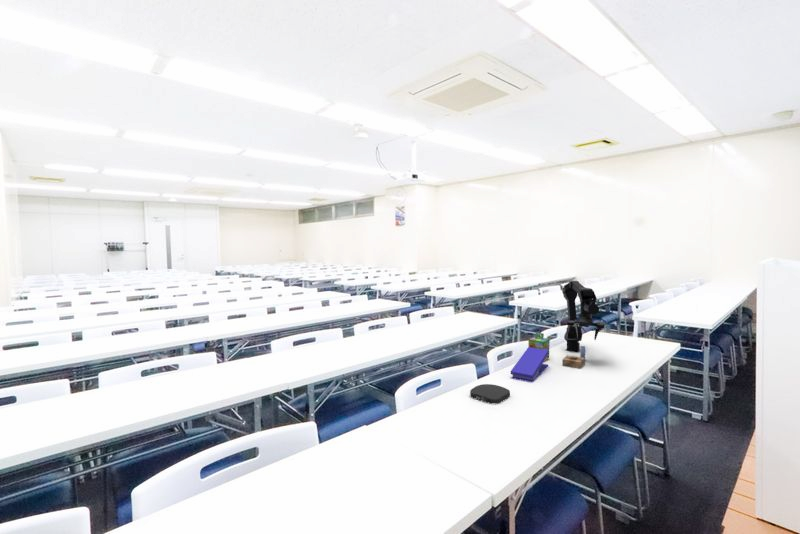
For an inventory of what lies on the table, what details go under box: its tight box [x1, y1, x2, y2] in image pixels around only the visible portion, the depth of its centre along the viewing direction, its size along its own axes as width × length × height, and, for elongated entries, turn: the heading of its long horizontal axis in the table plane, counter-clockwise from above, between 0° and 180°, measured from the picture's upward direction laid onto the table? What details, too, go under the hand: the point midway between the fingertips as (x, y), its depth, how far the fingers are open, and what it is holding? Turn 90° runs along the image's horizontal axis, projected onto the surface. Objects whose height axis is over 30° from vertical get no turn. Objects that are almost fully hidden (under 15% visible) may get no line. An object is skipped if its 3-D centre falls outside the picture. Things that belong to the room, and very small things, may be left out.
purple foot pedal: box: [510, 347, 550, 383], centre depth 200 cm, size 12×28×10 cm, turn 144°
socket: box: [561, 354, 586, 370], centre depth 209 cm, size 9×9×4 cm
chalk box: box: [527, 332, 551, 362], centre depth 221 cm, size 9×9×15 cm
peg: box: [579, 345, 586, 359], centre depth 216 cm, size 2×2×8 cm
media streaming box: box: [469, 383, 511, 404], centre depth 171 cm, size 15×15×3 cm
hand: (585, 338), depth 216 cm, fingers open, 9 cm apart
